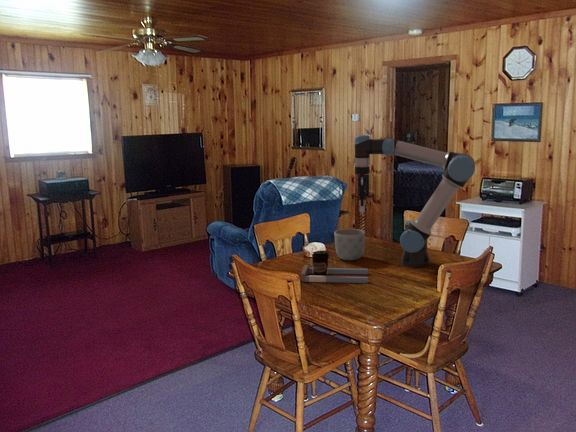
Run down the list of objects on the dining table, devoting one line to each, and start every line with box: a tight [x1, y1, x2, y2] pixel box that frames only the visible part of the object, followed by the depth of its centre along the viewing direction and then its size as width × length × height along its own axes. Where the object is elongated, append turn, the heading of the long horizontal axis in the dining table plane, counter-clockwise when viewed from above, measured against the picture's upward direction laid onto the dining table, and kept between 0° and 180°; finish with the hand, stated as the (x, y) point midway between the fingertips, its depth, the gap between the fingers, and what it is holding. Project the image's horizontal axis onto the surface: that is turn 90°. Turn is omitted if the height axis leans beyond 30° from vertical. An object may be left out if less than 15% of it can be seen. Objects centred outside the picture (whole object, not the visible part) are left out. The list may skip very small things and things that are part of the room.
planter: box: [333, 228, 366, 262], centre depth 291 cm, size 17×17×15 cm
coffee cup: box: [311, 250, 330, 276], centre depth 259 cm, size 9×8×13 cm
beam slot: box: [300, 264, 369, 284], centre depth 259 cm, size 32×15×4 cm, turn 81°
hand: (362, 211), depth 270 cm, fingers closed
